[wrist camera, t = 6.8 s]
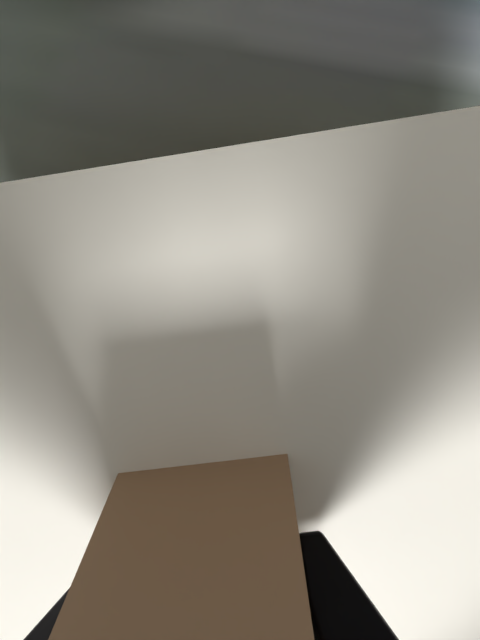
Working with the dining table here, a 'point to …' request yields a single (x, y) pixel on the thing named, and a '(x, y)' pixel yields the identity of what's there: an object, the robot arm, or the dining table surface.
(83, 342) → the cover board
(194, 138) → the dining table surface
